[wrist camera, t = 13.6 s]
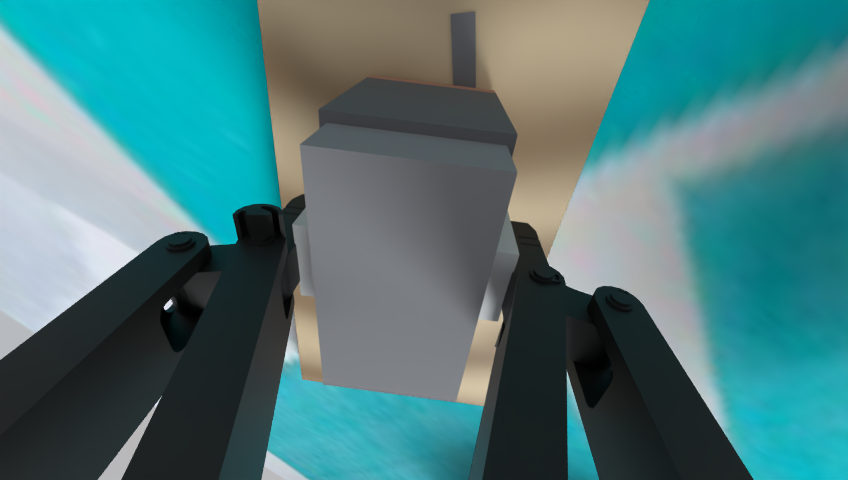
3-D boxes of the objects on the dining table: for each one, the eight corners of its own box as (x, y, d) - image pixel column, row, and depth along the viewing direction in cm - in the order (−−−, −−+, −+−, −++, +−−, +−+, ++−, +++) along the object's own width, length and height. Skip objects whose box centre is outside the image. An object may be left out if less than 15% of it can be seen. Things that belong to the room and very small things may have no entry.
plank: (259, -165, 12) (233, -189, 10) (670, -104, 12) (698, -120, 10) (309, 362, 27) (301, 380, 25) (486, 388, 27) (487, 407, 26)
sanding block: (370, 74, 14) (288, 128, 7) (494, 90, 14) (531, 159, 7) (367, 255, 19) (318, 388, 12) (458, 267, 19) (460, 407, 12)
